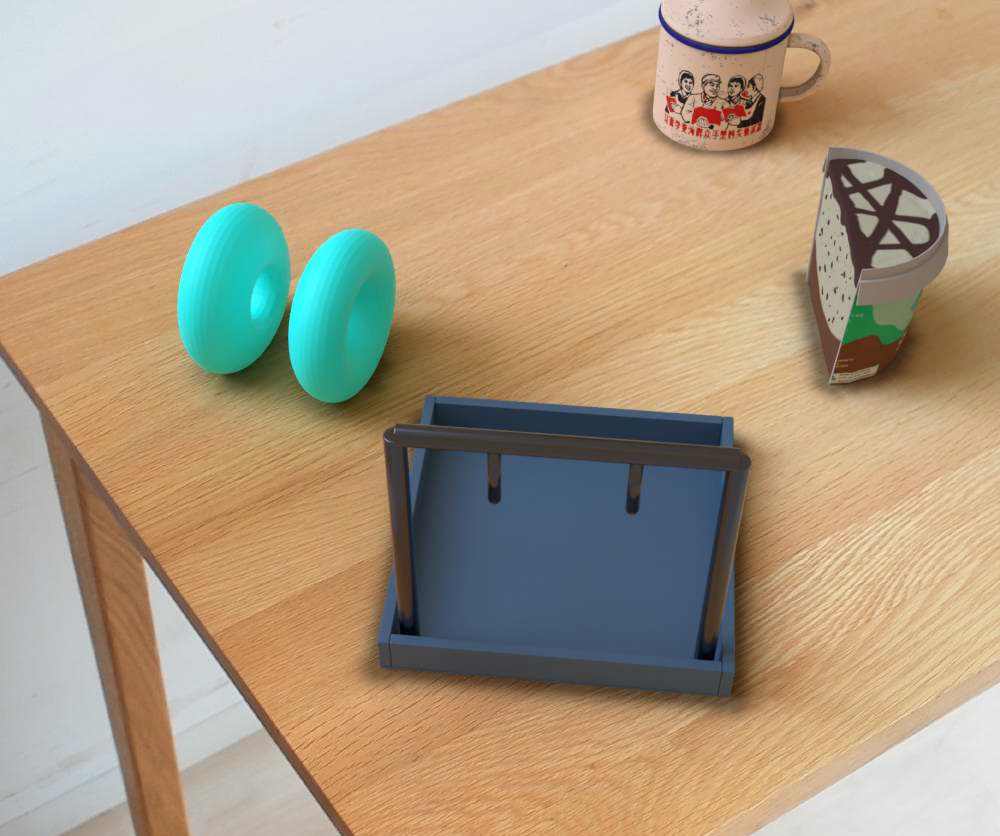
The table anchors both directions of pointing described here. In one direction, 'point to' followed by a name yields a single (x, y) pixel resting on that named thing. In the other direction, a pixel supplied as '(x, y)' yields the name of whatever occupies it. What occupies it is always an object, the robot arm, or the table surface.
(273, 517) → the table surface
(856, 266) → the food container
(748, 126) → the teacup with lid
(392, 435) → the rack frame
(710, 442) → the drip tray
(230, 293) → the donuts
